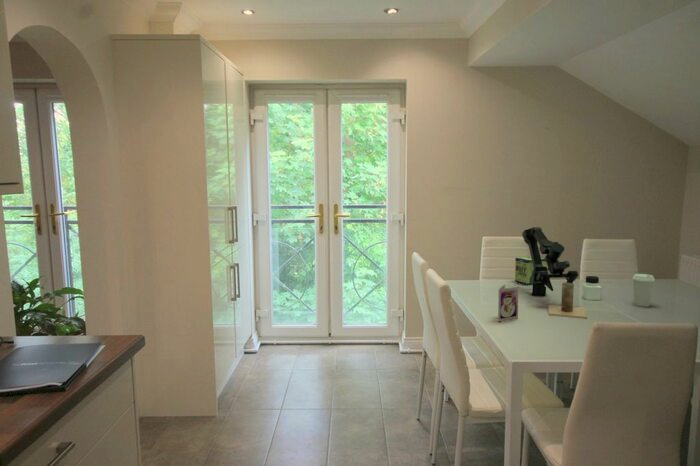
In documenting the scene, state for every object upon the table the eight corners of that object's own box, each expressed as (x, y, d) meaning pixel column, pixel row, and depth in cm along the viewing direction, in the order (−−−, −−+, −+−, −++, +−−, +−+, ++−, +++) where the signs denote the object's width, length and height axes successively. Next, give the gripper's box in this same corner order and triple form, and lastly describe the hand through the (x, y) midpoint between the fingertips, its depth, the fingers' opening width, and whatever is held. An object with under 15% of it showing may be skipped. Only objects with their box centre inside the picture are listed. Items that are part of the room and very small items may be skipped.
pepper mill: (559, 310, 221) (560, 283, 219) (564, 308, 224) (565, 282, 222) (569, 312, 217) (570, 285, 215) (574, 310, 220) (575, 283, 219)
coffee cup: (646, 308, 224) (647, 278, 222) (626, 304, 233) (628, 274, 231) (657, 305, 229) (659, 275, 227) (638, 301, 237) (639, 272, 235)
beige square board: (548, 315, 216) (548, 313, 216) (548, 306, 231) (548, 304, 231) (587, 318, 210) (587, 316, 210) (584, 309, 225) (584, 307, 224)
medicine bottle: (601, 300, 240) (602, 277, 239) (586, 300, 242) (587, 277, 241) (596, 297, 247) (597, 275, 246) (582, 296, 249) (583, 274, 247)
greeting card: (499, 322, 206) (500, 289, 204) (488, 318, 213) (488, 286, 211) (519, 319, 210) (520, 287, 209) (507, 315, 217) (508, 283, 216)
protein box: (514, 282, 286) (514, 257, 284) (533, 280, 292) (534, 255, 290) (527, 285, 276) (527, 260, 275) (546, 283, 282) (547, 258, 281)
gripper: (539, 255, 229) (547, 282, 219) (577, 254, 228) (587, 281, 219) (533, 267, 237) (540, 294, 228) (569, 267, 237) (579, 293, 227)
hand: (562, 290), depth 225 cm, fingers open, 9 cm apart
